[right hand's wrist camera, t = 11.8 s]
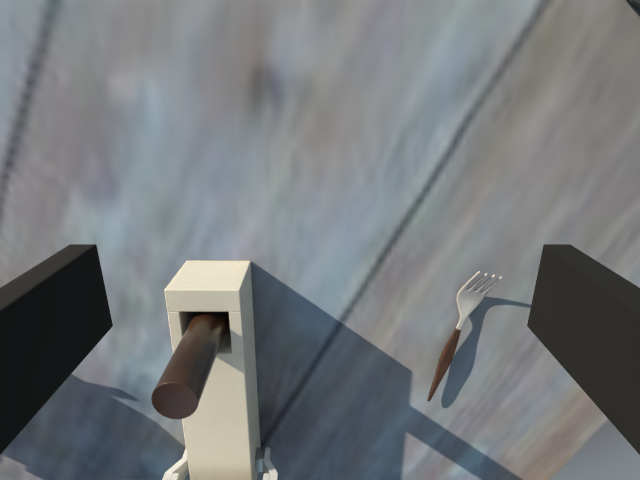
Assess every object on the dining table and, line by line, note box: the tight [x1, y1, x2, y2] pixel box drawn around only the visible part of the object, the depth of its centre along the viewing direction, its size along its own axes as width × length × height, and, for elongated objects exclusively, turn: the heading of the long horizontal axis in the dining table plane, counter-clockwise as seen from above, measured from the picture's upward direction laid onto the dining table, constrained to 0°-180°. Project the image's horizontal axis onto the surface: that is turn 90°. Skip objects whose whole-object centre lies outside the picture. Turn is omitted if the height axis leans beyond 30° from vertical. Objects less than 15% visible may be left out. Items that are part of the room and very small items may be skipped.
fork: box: [428, 271, 502, 401], centre depth 40 cm, size 3×16×2 cm, turn 166°
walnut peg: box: [152, 312, 229, 419], centre depth 33 cm, size 3×3×14 cm
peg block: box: [165, 261, 261, 480], centre depth 40 cm, size 6×24×6 cm, turn 0°
